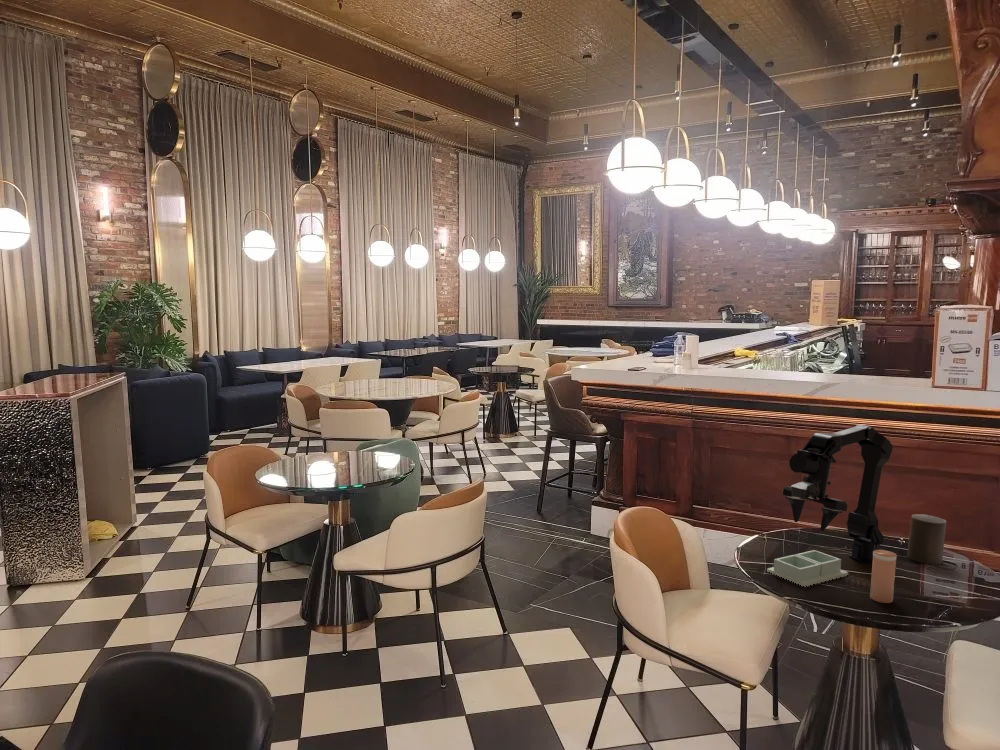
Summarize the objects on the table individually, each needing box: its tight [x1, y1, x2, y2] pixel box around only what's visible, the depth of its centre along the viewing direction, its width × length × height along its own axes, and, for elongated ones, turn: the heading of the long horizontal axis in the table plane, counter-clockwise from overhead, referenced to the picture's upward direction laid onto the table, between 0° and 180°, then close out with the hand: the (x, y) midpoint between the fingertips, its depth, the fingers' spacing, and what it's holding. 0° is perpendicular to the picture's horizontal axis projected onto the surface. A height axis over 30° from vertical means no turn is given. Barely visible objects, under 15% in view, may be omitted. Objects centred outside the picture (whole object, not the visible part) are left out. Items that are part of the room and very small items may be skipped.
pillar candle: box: [906, 513, 947, 566], centre depth 222 cm, size 10×10×15 cm
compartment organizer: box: [766, 549, 849, 588], centre depth 208 cm, size 20×13×4 cm, turn 120°
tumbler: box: [869, 549, 898, 604], centre depth 190 cm, size 6×6×13 cm
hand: (808, 526), depth 208 cm, fingers open, 9 cm apart
